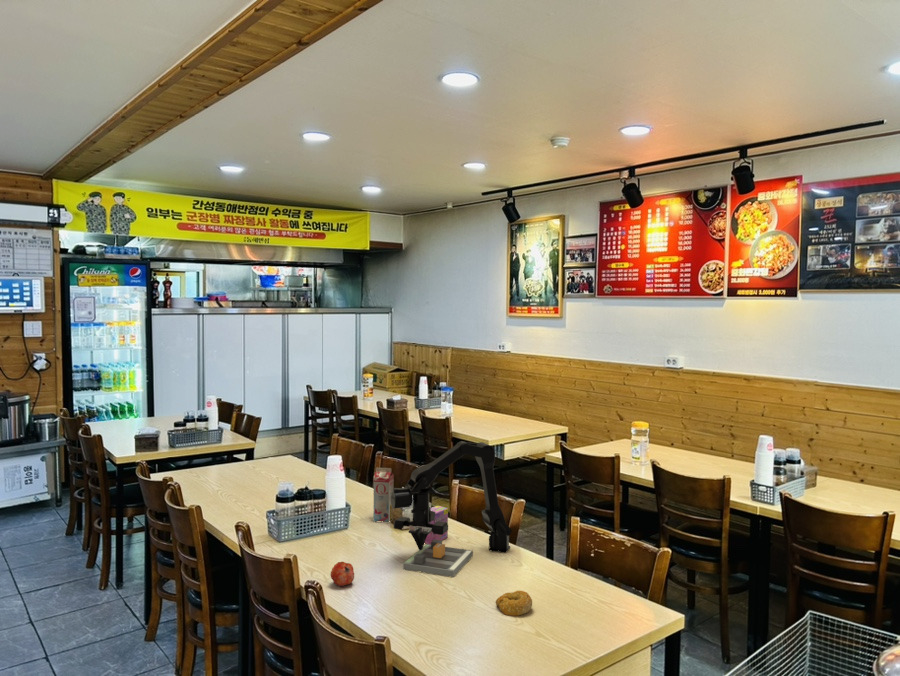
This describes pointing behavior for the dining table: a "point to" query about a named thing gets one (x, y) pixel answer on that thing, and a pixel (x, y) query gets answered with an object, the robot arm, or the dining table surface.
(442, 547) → the handle
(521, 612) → the bagel
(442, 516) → the box
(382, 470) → the juice carton
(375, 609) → the dining table surface
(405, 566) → the panel
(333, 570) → the pomegranate
